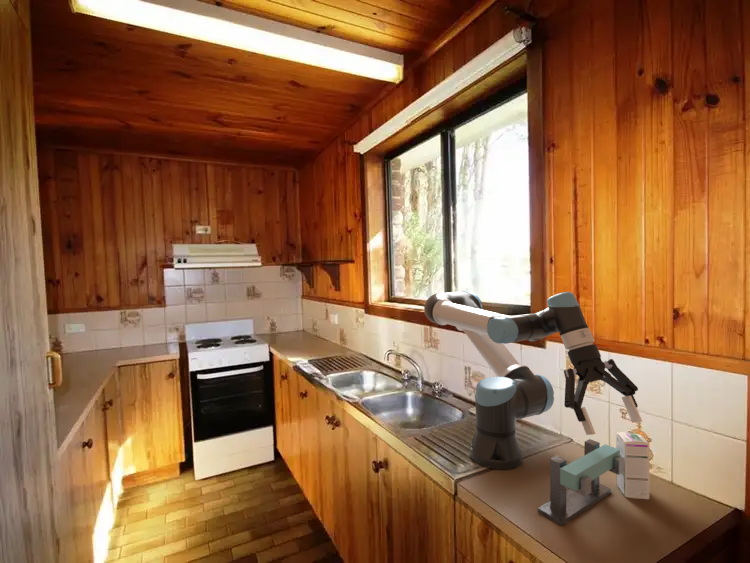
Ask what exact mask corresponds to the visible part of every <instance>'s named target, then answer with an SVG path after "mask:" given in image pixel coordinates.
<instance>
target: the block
mask: <svg viewBox="0 0 750 563" xmlns="http://www.w3.org/2000/svg"><path fill="white" fill-rule="evenodd" d="M619 456H620V450H619V449H617V448H616V447H614V446H611V445H608V444H603V445H601V446H600V447H599V448H597V449H596V450H594V451H592V452H590V453H588V454H586V455H584V454H583V456H581V457H579V458H577V459H575V460H574V461H572V462H570V463H568V464H566V466H564V467H562V468H560V484H562V485H564V486H566V487H568V488H570V489H572V490H575V491H576V490H578V489H579V488H581V478H583V477H585V476H589V477H591V481H592V480H594V479H595V478H597V477H599V478H600V476H602V475H604V474H605V473H606V472H609V471H608V470H610V469H612V468H613V467H614V460H615V458H617V457H619ZM568 488H567V489H568Z"/></svg>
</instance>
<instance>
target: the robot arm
mask: <svg viewBox="0 0 750 563" xmlns="http://www.w3.org/2000/svg"><path fill="white" fill-rule="evenodd" d="M546 304H547V307H546V308H545V309H543V310H541V311H538V312H535V313H534V312H533V313H526V314H517V315H516V314H515V315H507V314H503V313H499V312H494V311H489V310H486V309H483V305H482V300H481V299H480V297H479V295H477V294H476V293H475V292H473V291H466V290H459V291H450V292H448V291H447V292H437V293H435V294H432V295H431V296H428V298H427V299H426V301H425V304H424V305H423V306H424V307H423V310H424V316H425V317H426V319H428V320H429V322H431V323H434V324H436V325H440V326H446V325H450V326H452V327H453V326H454V327H455V328H456V329H457V330H458V331H460V332H461V331H462V332H463V333H464V334H465V335H466V336H467V338H468V339H469V340H470V342H471V343H472V345H473V346H474V347H475V349H476V350H477V351H478V352H479V354H480V355H481V357H482V358H483V359H484V361H485V362H486V364H487V365H488V366H489V367H490V369H491V370H492V372H493V374H495V376H496V377H495V376H490V377H486V378H483V379H481V380H480V381H478V382H477V384H476V385H475V394H474V400H475V401H474V402H475V431H474V434H473V436H472V437H473V438H472V440H471V443H470V447H469V448H470V450H469V453H470V454H469V455H470V458H471V459H472V460H473V462H475V463H476V464H478V465H480V466H483V467H485V468H489V469H494V470H502V471H503V470H504V471H505V470H512V469H516V468H518V467H519V466H521V464H522V462H523V452H522V450H521V447H520V443H519V440H518V437H517V421H518V420H522V419H526V418H529V417H530V418H531V417H534V416H540V415H541V414H543V413H546V412H548V411H550V409H551V408H552V406H553V405H554V401H555V397H554V396H555V391H554V388H553V385H552V384H551V382H550V381H549V379H548V378H547V377H546V376H544V375H541V374H535V373H534V372H533V371H532V370H531V369H530V368H529V366H528V365H524V364H523V365H521V364H520V362H519V361H518V360H517V359H516V358H515V357H514V355H513V353H511V352H510V350H509V349H508V348H507V346H506V345H507V344H511V343H515V342H522V341H528V342H529V341H530V342H536V341H540V340H543V339H544V338H546V337H549V336H552V335H555V334H556V333H558V334H559V335H560V339H561V341H562V344H563V345H564V349H565V350H566V351H567V350H568V351H567V356H568V358H569V361H570V363H571V364H572V365H573V368H567V369H564V370H563V374H564V378H565V381H564V382H565V385H564V387H565V388H564V402H563V403H564V407H565V408H566V409H567V408H569V409H572V410H573V411H574V413H575V416H576V418H577V421H578V422H579V423H581V425H582V427H583V430H584V432H585V434H586V435H589V436H590V435H591V436H592V435H596V431H595V428H594V427H593V426H594V425H593V423H592V421H591V419H590V416H589V414H588V412H587V409H586V406H582V405H583V402H584V398H585V394H586V392H587V391H586V390H587V388H588V385H590V383H594V382H597V381H603V382H604V383H606V384H607V385H609V386H610V387H611V388H613V389H615V391H617V392H618V393H620V394H622V395H623V396H621V399H622V401H623V402H622V403H623V404H624V407H625V410H626V411H627V413H628V416H629V418H630V420H631V422H632V423H642V422H643V420H642V417H641V416H640V413H639V410H638V403H637V401H636V399H635V396H634V395H636V392H638V390H639V387H638V386H637V385H636V384H635V383H634V382H633V381H632V380H631V379H630V378H629V377H628V376H627V375H626V374H625V373H624V372H623V371H622V370H621V369H620V368H619V367H618V366H617V364H616V362H615V361H614V359H613V358H611V359H607V360H604V361H603V360H602V357H601V356H602V355H601V353H600V350H599V348H598V346H597V344H594V342H595V339H594V337H593V335H592V332H591V330H590V327H589V325H588V323H587V321H586V319H585V317H584V312H583V311H582V308H581V306H580V303H579V302H578V300H577V298H576V296H575V294H574V293H573V292H571V291H565V292H559V293H557V294H554V295H552V296H550V297H549V298H547V300H546ZM606 369H607V370H608V371H606ZM576 376H577V377H578V378H577V385H576Z"/></svg>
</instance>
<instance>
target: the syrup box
mask: <svg viewBox="0 0 750 563" xmlns="http://www.w3.org/2000/svg"><path fill="white" fill-rule="evenodd" d="M615 434H616V435H615V436H616V437H615V441H616V443H615V445H616V446H615V448H617V449H619V450H620V456H621V457H624V472H622V473H621V474H619V475H618V474H615V477H616V486H617V488H618V489H619V491H620V492H621V493H622V495H623V496H624V498H630V499H637V500H639V499H640V500H650V487H651V486H650V442H648V440H646V439H645V437H644V436H643V435H642V434H640V433H638V432H628V431H616V433H615Z"/></svg>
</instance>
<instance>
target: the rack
mask: <svg viewBox="0 0 750 563" xmlns="http://www.w3.org/2000/svg"><path fill="white" fill-rule="evenodd" d="M600 444H601V443H600V442H598V441H596V440H593V439H590V438H589V439H587V440H585V441H584V452H583V453H584V454H583V456H584V455H586V454H588V453H590V452H592V451H594V450H596V449H597V448H599V447H601V446H600ZM549 460H550V461H549V474H550V475H549V480H550V481H549V484H550V485H549V494H550V495H549V497H550V498H549V501H547V502H545V503H544V504H542V505H540V506H539V507H537V513H538V514H539V515H542V516H544V517H546V518H547V519H549V520H550V521H553V522H554V523H556V524H557V525H558V526H561V527H563V526H564V525H566V524H567V523H569V521H571V520H573V519H574V518H576V517H577V516H579V515H580V514H582V513H584V511H586V510H588V509H589V508H591V507H592V506H593V505H595V504H596V503H598V502H599V501H601V500H602V499H603V498H605V497H607V496H608V495H609V494H611V493H612V489H611V488H610V487H607V486H606V485H604V484H601V483H600V476H599V477H597V478H595V479H594V480H592V481H591V477H589V476H585V477H583V478H581V488H579V489H578V490H576V491H575V490H572V489H570V488H568V487H566V486H564V485H562V484H560V468H562V467H564V466H566V465H567V459H565V458H563V457H560V456H559V455H555V456H552V457H551V458H550V459H549ZM607 472H611V473H613V474H615V475H616V474H618V475H619V474H621V473H622V472H624V457H621V456H619V457H617V458H615V460H614V467H613V468H612V469H610V470H608V471H607Z"/></svg>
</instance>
